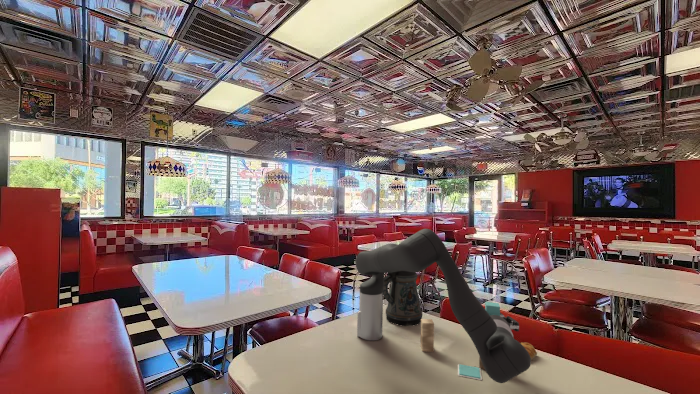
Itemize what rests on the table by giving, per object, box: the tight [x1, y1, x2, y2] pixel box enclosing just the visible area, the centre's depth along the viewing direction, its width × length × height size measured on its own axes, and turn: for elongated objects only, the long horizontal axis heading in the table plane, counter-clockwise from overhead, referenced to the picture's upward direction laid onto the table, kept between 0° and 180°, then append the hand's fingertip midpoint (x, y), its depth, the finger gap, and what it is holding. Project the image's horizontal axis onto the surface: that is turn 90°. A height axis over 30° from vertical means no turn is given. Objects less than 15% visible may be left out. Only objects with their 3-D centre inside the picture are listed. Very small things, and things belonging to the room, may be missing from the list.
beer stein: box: [383, 271, 423, 327], centre depth 139 cm, size 16×19×25 cm
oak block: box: [419, 318, 435, 353], centre depth 112 cm, size 4×4×10 cm
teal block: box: [484, 301, 501, 316], centre depth 101 cm, size 4×4×10 cm
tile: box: [457, 363, 483, 381], centre depth 96 cm, size 7×7×1 cm
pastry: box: [520, 342, 538, 361], centre depth 107 cm, size 9×7×4 cm
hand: (491, 313), depth 104 cm, fingers closed on teal block, 4 cm apart
